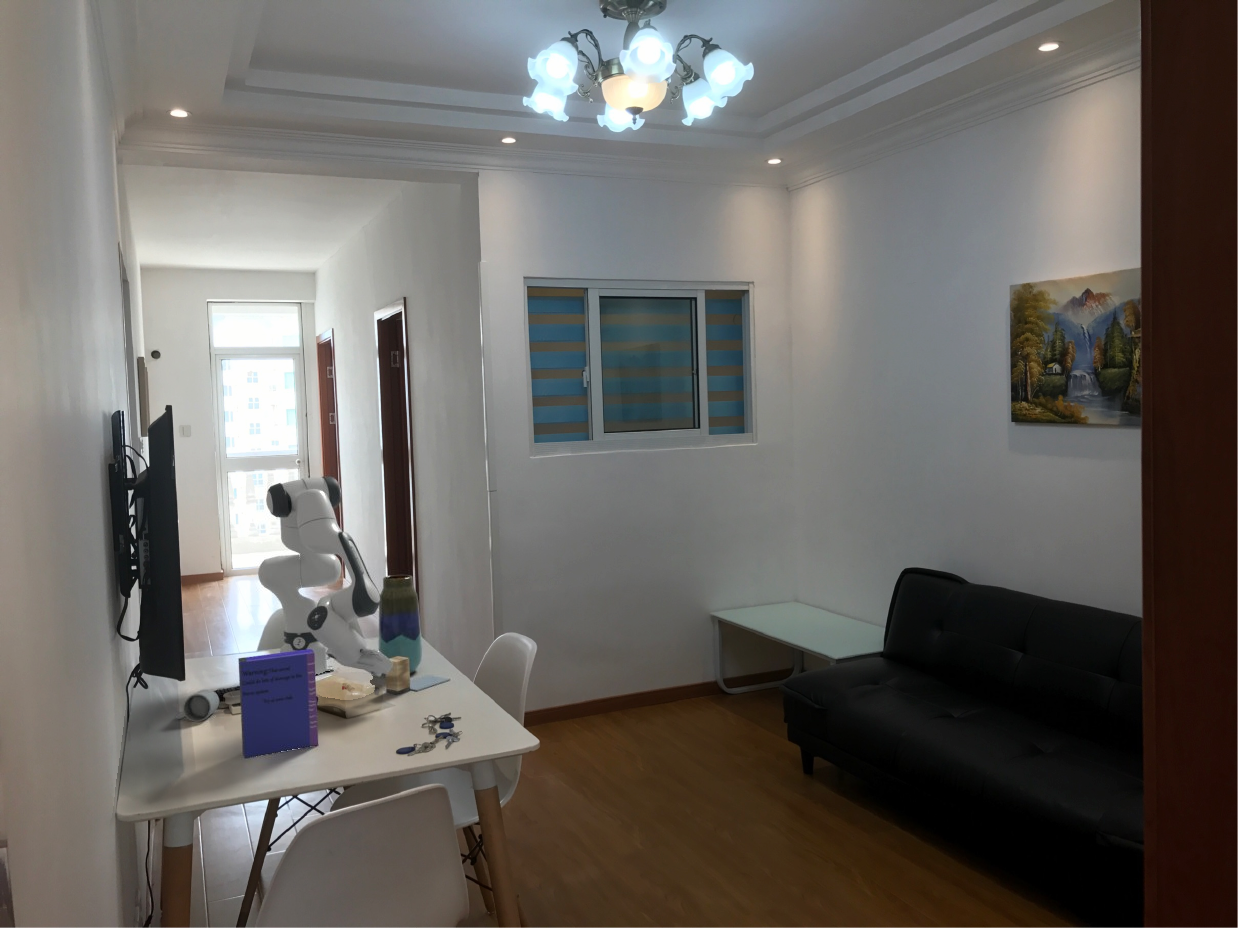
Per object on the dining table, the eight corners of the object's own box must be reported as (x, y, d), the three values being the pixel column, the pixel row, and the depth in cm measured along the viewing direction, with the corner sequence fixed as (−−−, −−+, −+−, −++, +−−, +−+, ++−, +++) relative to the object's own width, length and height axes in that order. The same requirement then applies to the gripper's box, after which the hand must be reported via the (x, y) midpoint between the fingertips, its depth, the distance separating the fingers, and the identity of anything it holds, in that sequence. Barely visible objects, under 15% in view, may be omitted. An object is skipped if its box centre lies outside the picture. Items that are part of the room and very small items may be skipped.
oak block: (397, 694, 285) (396, 661, 285) (386, 692, 288) (385, 659, 287) (410, 690, 289) (409, 658, 289) (398, 688, 292) (397, 656, 292)
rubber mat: (417, 691, 288) (417, 689, 288) (394, 686, 294) (394, 685, 294) (450, 680, 300) (450, 678, 300) (427, 675, 305) (427, 674, 305)
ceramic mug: (221, 712, 272) (219, 685, 272) (211, 720, 264) (209, 693, 264) (183, 714, 272) (181, 687, 271) (172, 723, 263) (170, 696, 263)
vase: (419, 664, 320) (416, 572, 319) (426, 674, 307) (422, 578, 306) (377, 669, 315) (373, 575, 314) (382, 679, 302) (378, 581, 301)
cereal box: (315, 740, 246) (311, 648, 245) (318, 745, 241) (314, 651, 240) (242, 752, 238) (238, 657, 237) (244, 758, 233) (240, 661, 232)
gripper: (380, 642, 269) (407, 669, 278) (333, 635, 281) (361, 660, 289) (368, 661, 266) (396, 687, 274) (321, 653, 278) (349, 678, 286)
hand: (378, 673), depth 282 cm, fingers closed
